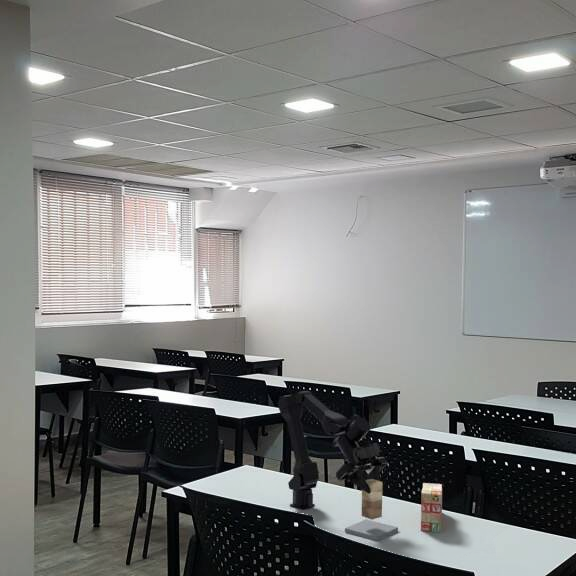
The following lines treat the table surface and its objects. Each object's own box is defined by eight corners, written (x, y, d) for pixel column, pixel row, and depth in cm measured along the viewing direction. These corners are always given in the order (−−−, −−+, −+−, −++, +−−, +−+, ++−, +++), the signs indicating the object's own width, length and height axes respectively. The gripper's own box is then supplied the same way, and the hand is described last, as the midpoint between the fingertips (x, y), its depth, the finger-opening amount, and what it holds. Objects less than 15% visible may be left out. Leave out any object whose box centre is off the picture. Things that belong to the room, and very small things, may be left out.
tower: (361, 515, 227) (362, 481, 227) (371, 513, 230) (372, 478, 230) (371, 519, 223) (372, 484, 223) (381, 516, 226) (382, 481, 226)
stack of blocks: (423, 511, 249) (424, 475, 249) (442, 513, 247) (442, 477, 247) (420, 531, 228) (421, 492, 228) (440, 533, 227) (441, 493, 227)
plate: (344, 532, 226) (345, 528, 226) (366, 522, 235) (366, 519, 235) (377, 540, 218) (377, 536, 218) (398, 531, 227) (398, 527, 227)
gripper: (342, 438, 224) (367, 482, 215) (384, 432, 236) (409, 472, 227) (325, 459, 230) (348, 502, 221) (366, 451, 242) (390, 492, 233)
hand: (375, 491), depth 226 cm, fingers closed on tower, 4 cm apart
